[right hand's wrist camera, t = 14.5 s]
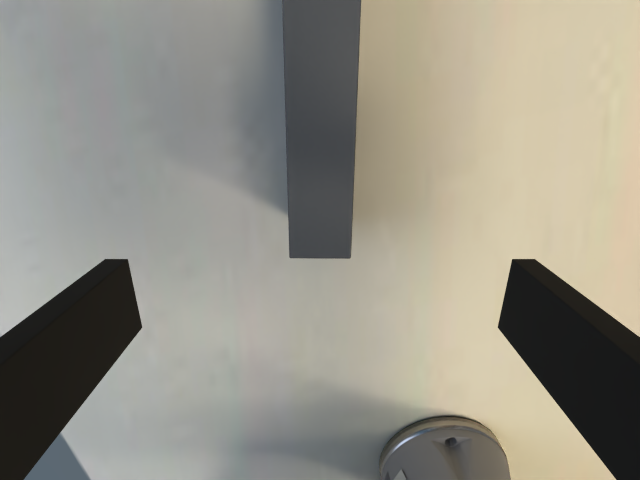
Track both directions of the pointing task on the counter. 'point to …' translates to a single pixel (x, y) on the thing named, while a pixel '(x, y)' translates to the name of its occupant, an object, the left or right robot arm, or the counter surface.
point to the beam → (320, 123)
